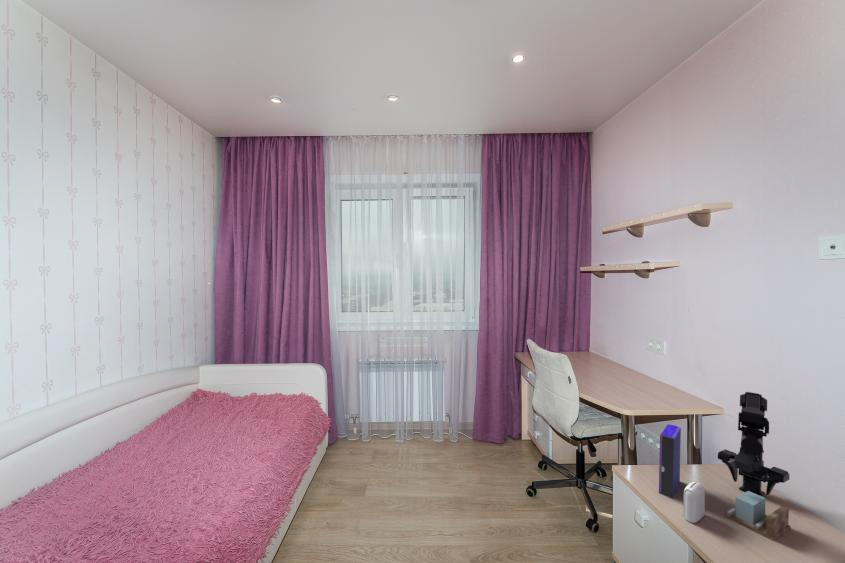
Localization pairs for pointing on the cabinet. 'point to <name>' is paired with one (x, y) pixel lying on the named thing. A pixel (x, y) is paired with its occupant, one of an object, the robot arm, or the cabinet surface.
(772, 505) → the cabinet surface
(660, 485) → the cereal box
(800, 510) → the cabinet surface
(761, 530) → the cleat stand
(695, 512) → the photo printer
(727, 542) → the cabinet surface
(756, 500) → the light blue block
